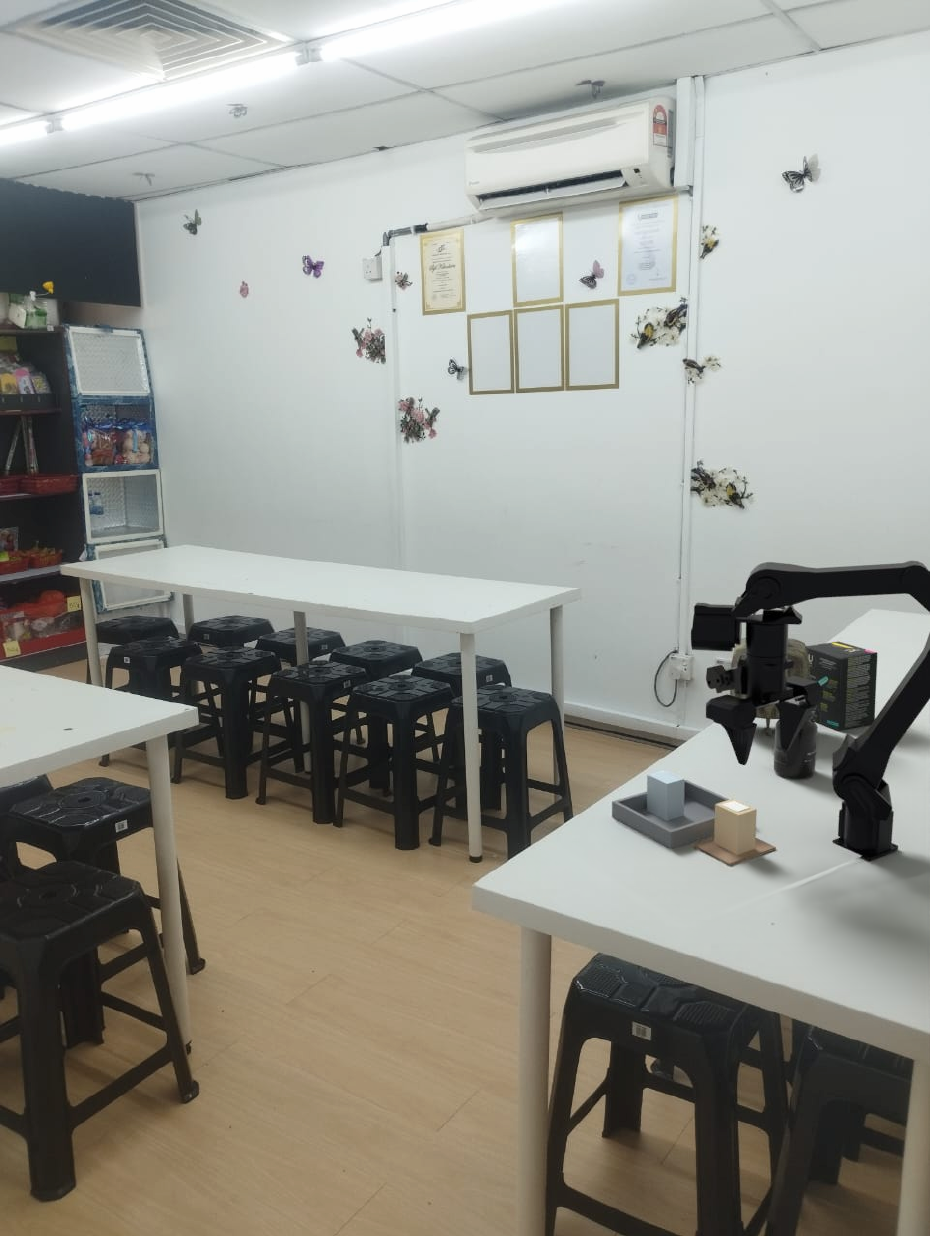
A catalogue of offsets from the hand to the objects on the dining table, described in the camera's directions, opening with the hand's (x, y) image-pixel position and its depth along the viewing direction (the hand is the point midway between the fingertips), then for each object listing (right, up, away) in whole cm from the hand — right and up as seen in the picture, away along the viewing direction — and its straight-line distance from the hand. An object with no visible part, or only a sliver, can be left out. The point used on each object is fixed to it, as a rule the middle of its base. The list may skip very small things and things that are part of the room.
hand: (764, 756), depth 141 cm
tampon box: (+30, 0, +51) cm, 60 cm away
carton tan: (-5, -12, -2) cm, 14 cm away
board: (-5, -13, -2) cm, 14 cm away
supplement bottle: (+13, -7, +26) cm, 30 cm away
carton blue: (-12, -10, +10) cm, 19 cm away
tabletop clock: (+15, -2, +46) cm, 48 cm away
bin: (-11, -11, +8) cm, 17 cm away
